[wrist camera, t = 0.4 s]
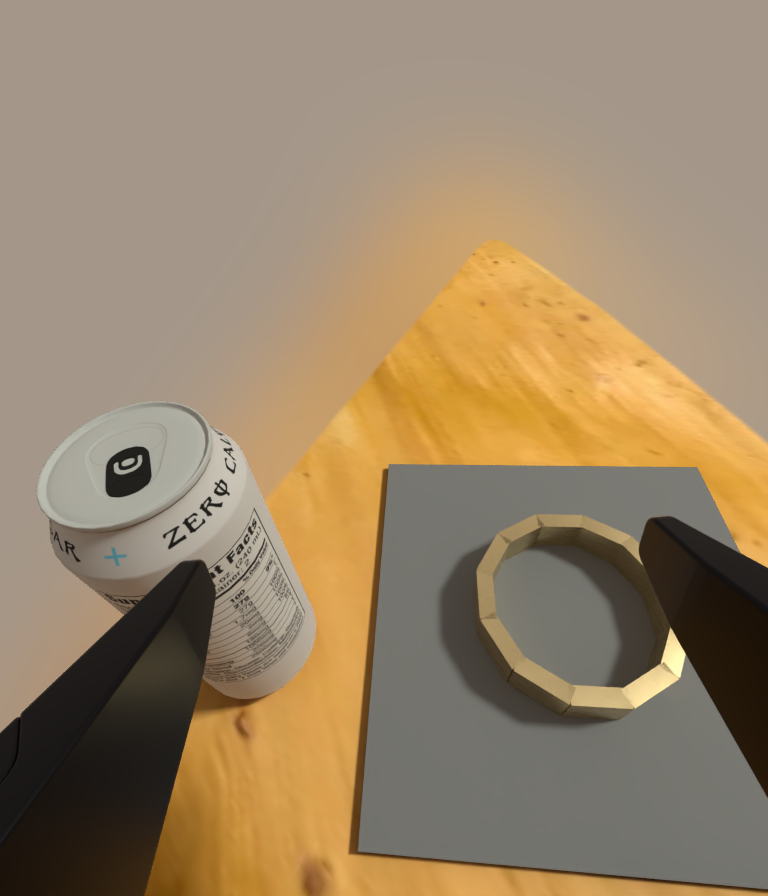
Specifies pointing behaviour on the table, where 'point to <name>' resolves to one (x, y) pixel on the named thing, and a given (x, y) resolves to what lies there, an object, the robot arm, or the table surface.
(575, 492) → the rubber mat
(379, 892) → the table surface
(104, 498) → the energy drink can
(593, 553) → the wooden ring
